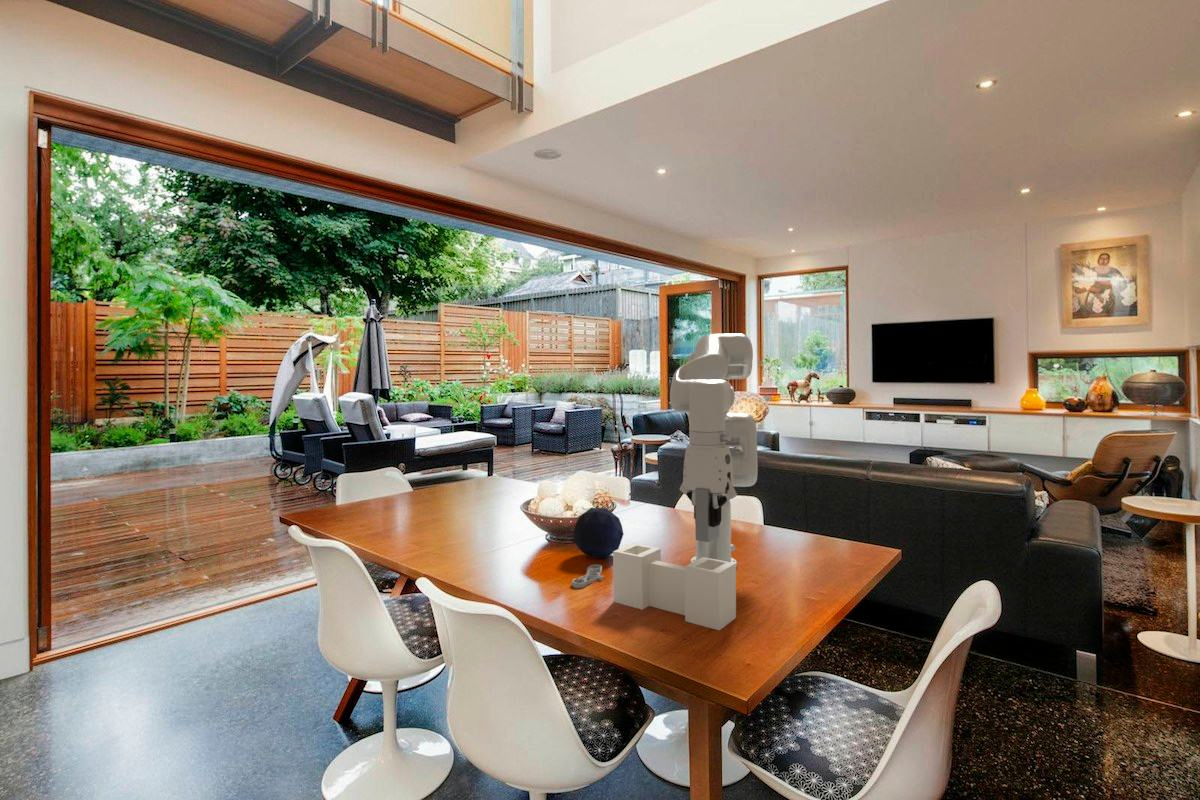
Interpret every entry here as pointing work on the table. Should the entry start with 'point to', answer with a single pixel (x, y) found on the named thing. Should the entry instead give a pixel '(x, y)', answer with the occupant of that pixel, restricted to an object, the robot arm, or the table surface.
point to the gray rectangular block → (704, 516)
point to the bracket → (588, 577)
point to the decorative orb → (598, 533)
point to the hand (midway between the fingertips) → (707, 523)
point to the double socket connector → (676, 585)
